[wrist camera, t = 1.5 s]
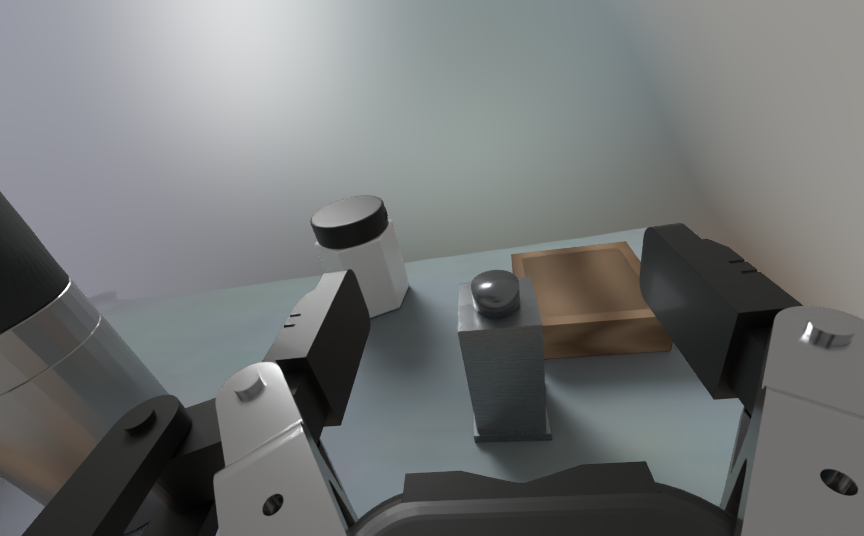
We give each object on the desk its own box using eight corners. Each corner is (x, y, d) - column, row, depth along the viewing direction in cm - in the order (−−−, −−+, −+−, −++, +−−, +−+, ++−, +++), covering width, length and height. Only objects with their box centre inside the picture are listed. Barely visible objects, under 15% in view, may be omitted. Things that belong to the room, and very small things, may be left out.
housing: (475, 442, 28) (448, 316, 22) (474, 383, 33) (452, 264, 26) (551, 440, 27) (548, 307, 21) (539, 379, 32) (533, 255, 25)
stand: (526, 360, 34) (524, 327, 32) (513, 283, 44) (511, 254, 42) (670, 350, 32) (678, 314, 30) (622, 272, 42) (625, 241, 40)
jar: (423, 289, 46) (401, 200, 40) (374, 328, 42) (341, 234, 35) (377, 271, 52) (351, 190, 46) (329, 304, 47) (293, 219, 41)
